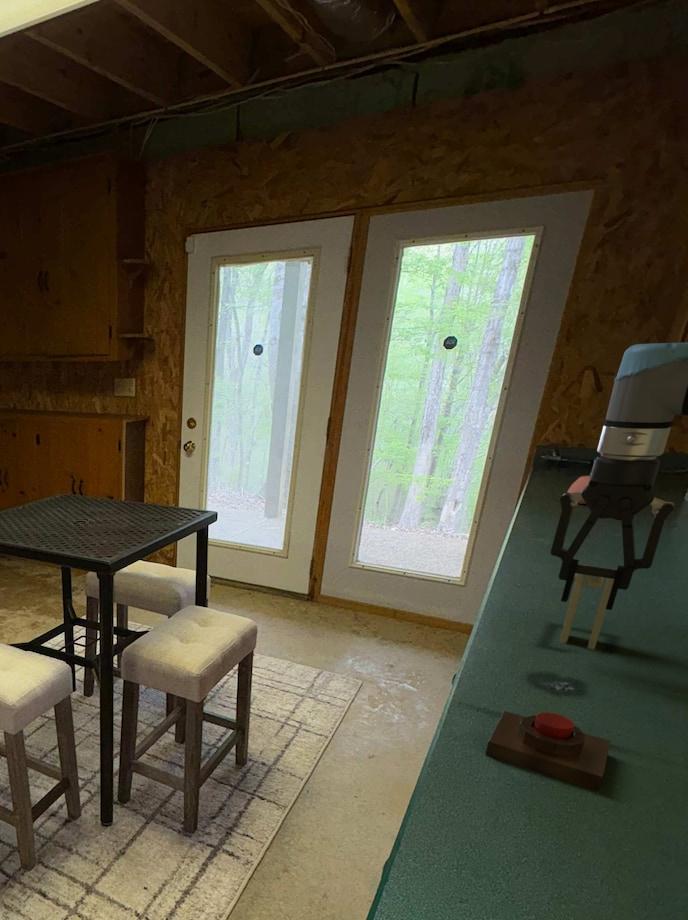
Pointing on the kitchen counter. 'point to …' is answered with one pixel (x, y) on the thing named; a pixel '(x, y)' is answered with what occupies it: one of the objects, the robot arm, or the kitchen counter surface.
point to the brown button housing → (549, 751)
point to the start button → (553, 725)
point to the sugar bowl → (579, 486)
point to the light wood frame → (574, 604)
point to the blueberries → (561, 686)
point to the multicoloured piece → (595, 575)
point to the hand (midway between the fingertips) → (586, 602)
